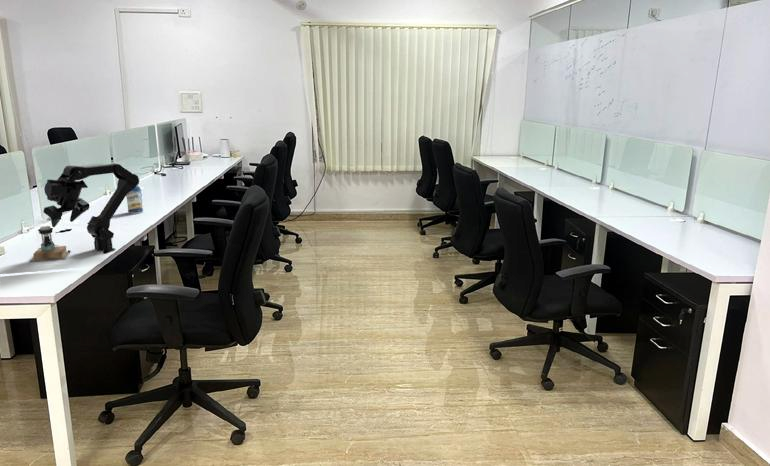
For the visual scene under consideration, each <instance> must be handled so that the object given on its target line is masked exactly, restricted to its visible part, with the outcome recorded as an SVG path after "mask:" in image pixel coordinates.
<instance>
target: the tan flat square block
mask: <svg viewBox="0 0 770 466" xmlns="http://www.w3.org/2000/svg"><path fill="white" fill-rule="evenodd" d="M55 247H58V248H55V249H54V250H48V251H42V249H41V247H39V248H38V249H37V250H36V251H34V253H33V258H34V261H39V260H52V259H62V258H63V257H64V255H65V254H66V253H67V252H68V250H67V246H66V245H57V246H55Z"/></svg>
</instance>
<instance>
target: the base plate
mask: <svg viewBox="0 0 770 466" xmlns="http://www.w3.org/2000/svg"><path fill="white" fill-rule="evenodd" d="M71 253H72V251H71V250H70V249H69V250H68V249H67V253H66V254H65V255H64V257H63V258H62V259H52V260H39V261H34V257H33V258H32V259H30V260H29V263H37V262H48V261H51V262H52V261H64V260H66V259H67V258H68V256H69V255H70V254H71Z"/></svg>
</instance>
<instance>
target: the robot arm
mask: <svg viewBox="0 0 770 466" xmlns="http://www.w3.org/2000/svg"><path fill="white" fill-rule="evenodd" d="M107 174H113V175H114V176H115V178H117V186H116V189H115V191H114V193H113V194H112V195H111V197H110V198H109V199H108V201H107V203H106V204H105V206H104V207H103V209H102V210H101V212H100V214H99V215H97V216H94V215H92V216H91V217H90V220H89V221H88V222H87V223H86V224H87V226H86V230H87V233H88V234H90V235H91V237H92V238H94V240H93V244H94V245H93V246H94V250H96V251H97V252H102V253H103V254H108V253H110V252H112V251H115V250H116V248H114V247H113V240H112V239H114V235H115V233H114V232H113V231H111V230H109V229H110V225H111V220H112V218H113V217H114V215H115V214H116V212H117V210H118V209H119V207H120V205H121V204H122V202H124V199H125V198H126V195H127V194H128V193H129V192H130V191H132V190H133V189H134V188H135V187H136V186H137V185H138V184H139V185H140V178H139V176H138V175H137V174H135V173H133V172H131V171H130V170H129V169H127V168H124V166H122V165H121V164H119V163H110V164H109V163H108V164H99V165H89V166H83V165H81V166H80V165H66V166H65V167H64V169H63V172H62V173H61V174H60V176H59V177H58V178H57V179H47V180H46V183H45V185H44V188H43V189H44V194H45V196H46V199H47V200H48V201H51V202H55V203H56V205H57V206H60V207H56V206H55V205H50V206H46V207H43V214H45V215H46V216H48V217H49V218H50V222H51V223H50V224H51V228H55V227H56V226H57V225H58V224H59V222H60V221H61V219H62V217H63V214H64V213H67V212H70V211H71V215H70V217H69V221H70V222H71V223H73V222H74V221H75V220H76V219H78V218H79V217H80V216H81V215H82V214H83V213H85V212H87V211H89V209H90V203H89V202H87V201H86V200H84V199H83V198H81V197H80V195H81V192H82V189H88V188H89V186H88V184H86V181H84V179H87V178H89V177H90V176H91V177H92V176H99V175H107ZM139 185H138V186H139Z"/></svg>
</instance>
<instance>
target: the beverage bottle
mask: <svg viewBox="0 0 770 466" xmlns="http://www.w3.org/2000/svg"><path fill="white" fill-rule="evenodd" d="M139 185H140V183H139V184H138V185H137V186H136V187H135V188H134V189H133V190H132V191H130V192H129V193H128V194H127V195H126V196H125V198H126V204H127V212H128V213H129V214H133V215H134V214H135V215H136V214H141V213H143V212H144V207H143V199H142V196H143V194H142V189H141V187H140V186H139Z"/></svg>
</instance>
